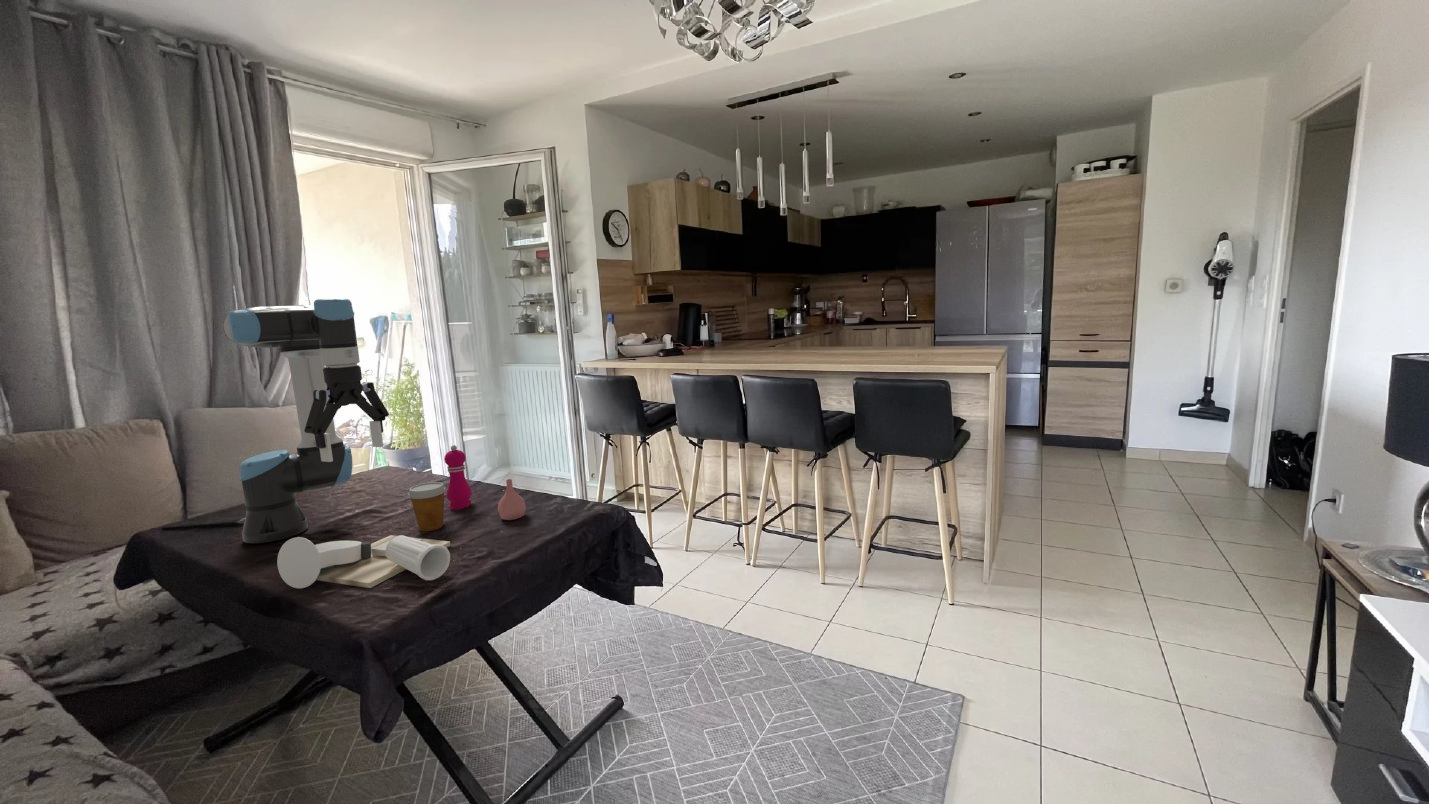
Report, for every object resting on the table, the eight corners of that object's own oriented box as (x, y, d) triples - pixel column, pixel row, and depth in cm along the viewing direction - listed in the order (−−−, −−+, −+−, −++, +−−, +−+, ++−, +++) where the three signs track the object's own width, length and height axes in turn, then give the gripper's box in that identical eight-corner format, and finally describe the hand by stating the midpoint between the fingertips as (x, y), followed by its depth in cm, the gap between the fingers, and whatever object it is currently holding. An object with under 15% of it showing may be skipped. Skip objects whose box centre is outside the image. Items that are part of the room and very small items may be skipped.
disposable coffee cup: (456, 521, 172) (451, 481, 170) (437, 533, 162) (432, 491, 161) (425, 521, 173) (420, 481, 171) (405, 533, 163) (399, 492, 162)
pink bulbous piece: (532, 518, 171) (528, 478, 169) (507, 526, 165) (503, 485, 163) (517, 513, 176) (514, 474, 174) (494, 521, 170) (489, 481, 169)
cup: (373, 552, 135) (411, 568, 128) (399, 524, 140) (437, 537, 133) (394, 571, 140) (432, 587, 133) (419, 543, 145) (457, 558, 138)
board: (305, 578, 137) (304, 573, 137) (391, 539, 160) (390, 535, 159) (370, 588, 131) (369, 583, 131) (450, 545, 153) (449, 541, 153)
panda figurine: (322, 589, 131) (374, 571, 146) (322, 538, 131) (374, 525, 146) (277, 587, 133) (332, 569, 148) (277, 536, 133) (332, 524, 148)
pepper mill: (443, 511, 181) (435, 448, 178) (457, 503, 188) (449, 442, 185) (464, 511, 180) (457, 448, 177) (477, 504, 187) (471, 442, 184)
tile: (371, 548, 146) (396, 551, 143) (398, 536, 153) (422, 539, 151) (372, 555, 146) (396, 558, 143) (399, 542, 154) (423, 545, 151)
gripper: (300, 372, 125) (315, 469, 129) (397, 359, 148) (407, 442, 152) (275, 372, 127) (291, 466, 131) (375, 359, 151) (385, 440, 154)
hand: (353, 453), depth 141 cm, fingers open, 13 cm apart
